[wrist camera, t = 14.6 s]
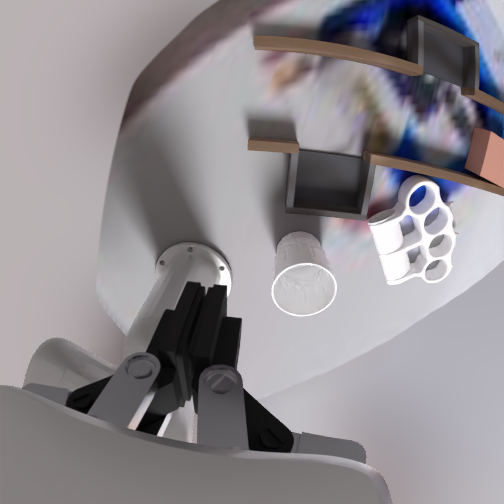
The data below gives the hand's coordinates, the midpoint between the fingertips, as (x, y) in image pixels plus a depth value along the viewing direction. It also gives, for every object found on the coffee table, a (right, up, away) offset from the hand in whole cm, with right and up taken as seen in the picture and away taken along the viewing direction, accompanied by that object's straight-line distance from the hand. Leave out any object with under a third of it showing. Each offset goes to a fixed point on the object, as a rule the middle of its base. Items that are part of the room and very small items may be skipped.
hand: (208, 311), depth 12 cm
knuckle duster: (+27, +6, +28) cm, 40 cm away
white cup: (+9, +3, +31) cm, 32 cm away
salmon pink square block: (+38, +18, +20) cm, 47 cm away
